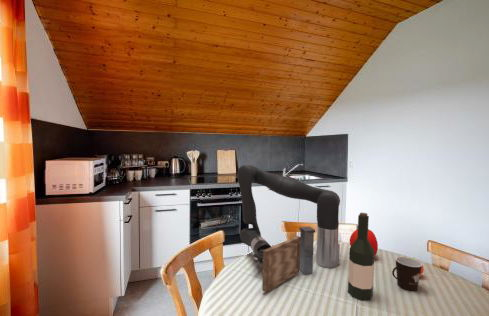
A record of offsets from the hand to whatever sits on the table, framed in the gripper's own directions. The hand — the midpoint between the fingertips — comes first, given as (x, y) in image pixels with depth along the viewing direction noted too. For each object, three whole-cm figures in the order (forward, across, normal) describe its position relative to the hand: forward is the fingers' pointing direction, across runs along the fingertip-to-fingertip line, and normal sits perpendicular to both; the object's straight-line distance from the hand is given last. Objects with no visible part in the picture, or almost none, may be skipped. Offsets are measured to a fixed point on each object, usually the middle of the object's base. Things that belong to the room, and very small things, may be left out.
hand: (276, 266), depth 97 cm
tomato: (-13, +52, +8) cm, 54 cm away
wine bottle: (+13, +28, +8) cm, 32 cm away
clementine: (+7, +60, +8) cm, 61 cm away
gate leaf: (-1, +3, +7) cm, 7 cm away
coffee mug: (+13, +48, +8) cm, 50 cm away
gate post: (-6, +16, +8) cm, 19 cm away
